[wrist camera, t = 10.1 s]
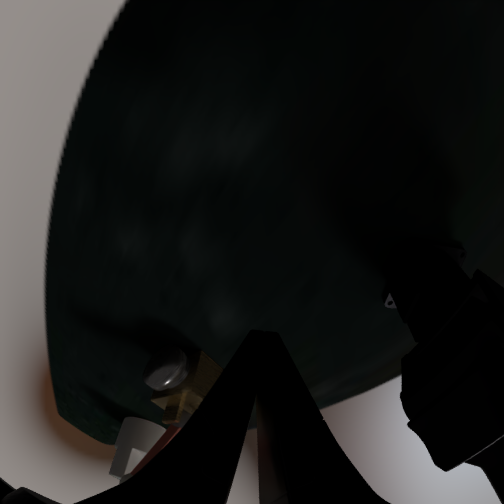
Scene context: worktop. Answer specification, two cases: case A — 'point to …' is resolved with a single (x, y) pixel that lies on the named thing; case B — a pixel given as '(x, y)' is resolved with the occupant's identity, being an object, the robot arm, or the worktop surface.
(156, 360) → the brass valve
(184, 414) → the valve lever
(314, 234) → the worktop surface
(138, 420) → the base with upright slab
